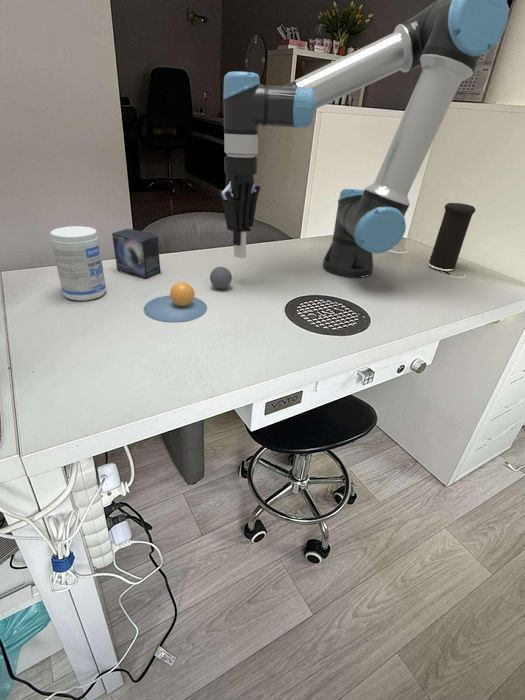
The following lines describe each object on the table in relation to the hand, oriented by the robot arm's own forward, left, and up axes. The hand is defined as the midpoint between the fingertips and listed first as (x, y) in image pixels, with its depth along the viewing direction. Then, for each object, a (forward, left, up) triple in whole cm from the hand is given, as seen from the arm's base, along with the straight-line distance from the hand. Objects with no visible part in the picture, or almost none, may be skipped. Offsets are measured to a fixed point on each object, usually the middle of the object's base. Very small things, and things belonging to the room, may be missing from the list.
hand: (240, 256), depth 101 cm
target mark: (+1, +22, -7) cm, 24 cm away
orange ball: (0, +20, -4) cm, 21 cm away
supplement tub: (+22, +31, -7) cm, 39 cm away
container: (-38, -58, -7) cm, 70 cm away
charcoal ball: (+1, +6, -4) cm, 8 cm away
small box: (+25, +13, -8) cm, 29 cm away
